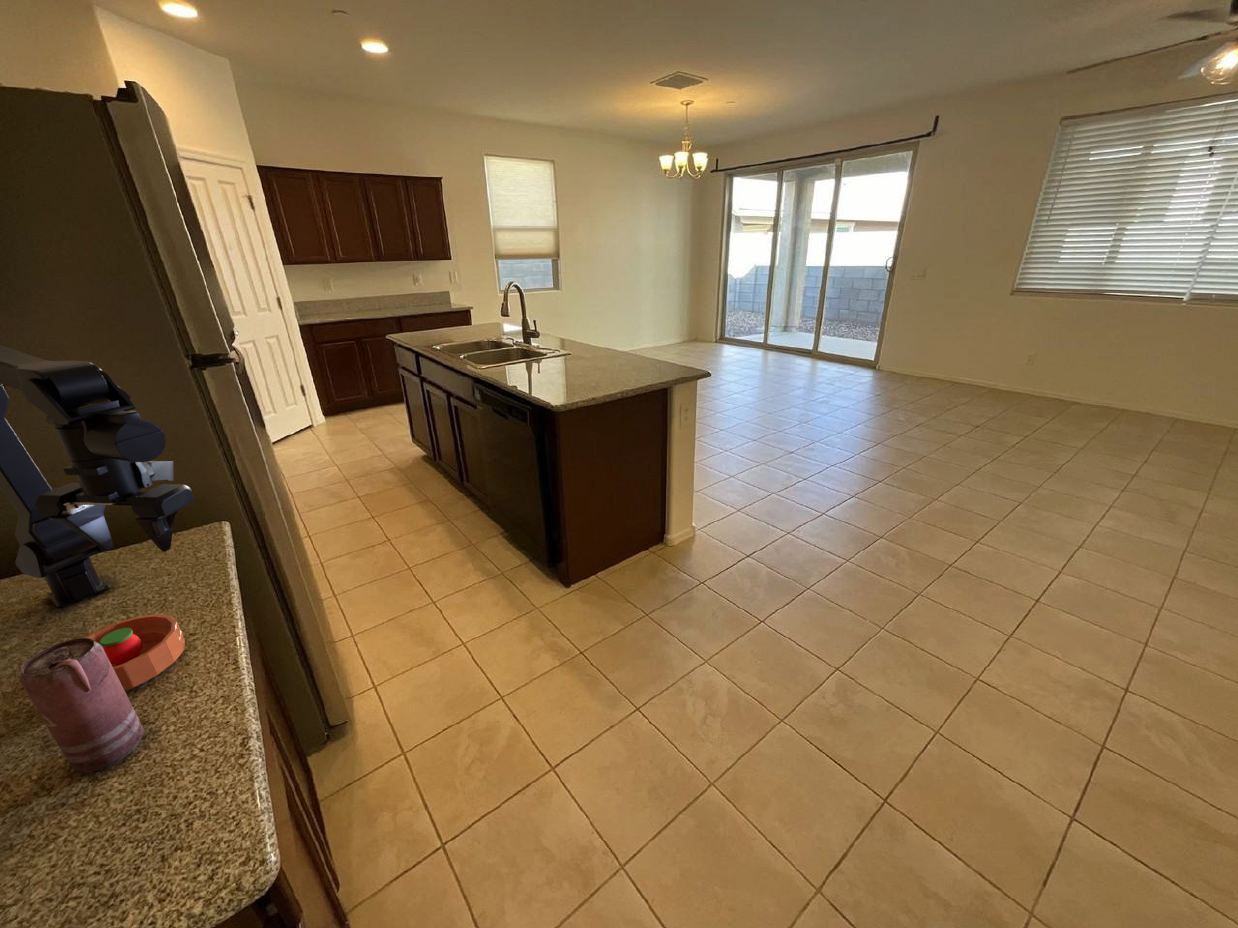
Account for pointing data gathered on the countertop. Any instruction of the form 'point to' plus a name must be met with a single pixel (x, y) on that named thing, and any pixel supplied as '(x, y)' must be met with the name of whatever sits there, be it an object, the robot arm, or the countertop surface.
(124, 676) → the bowl
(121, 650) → the strawberry
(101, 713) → the can
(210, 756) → the countertop surface
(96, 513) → the robot arm
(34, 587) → the countertop surface
